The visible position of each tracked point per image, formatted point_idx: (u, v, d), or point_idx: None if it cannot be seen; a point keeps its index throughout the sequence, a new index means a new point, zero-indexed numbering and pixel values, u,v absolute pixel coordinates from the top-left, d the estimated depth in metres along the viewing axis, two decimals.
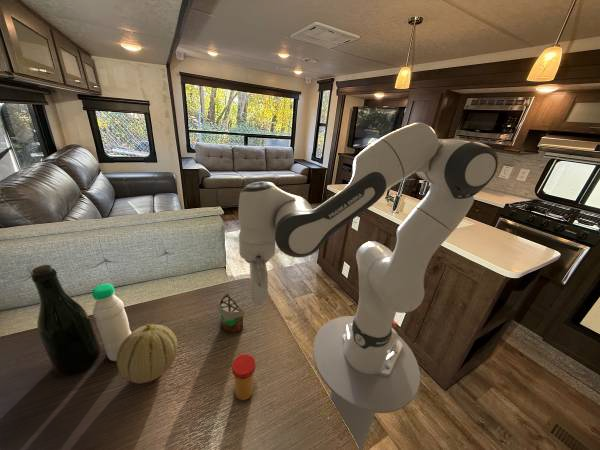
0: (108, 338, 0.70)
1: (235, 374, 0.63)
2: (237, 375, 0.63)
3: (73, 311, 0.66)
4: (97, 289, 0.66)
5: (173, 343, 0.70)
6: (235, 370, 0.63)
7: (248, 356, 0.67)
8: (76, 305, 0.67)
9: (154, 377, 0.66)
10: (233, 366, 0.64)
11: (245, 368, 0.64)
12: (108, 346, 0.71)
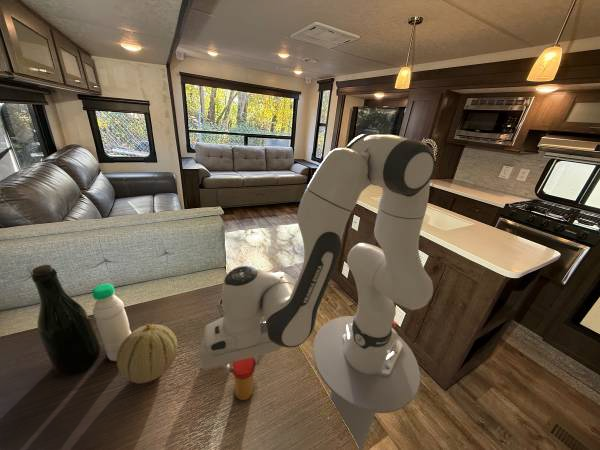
0: (108, 338, 0.70)
1: (235, 374, 0.63)
2: (237, 375, 0.63)
3: (73, 311, 0.66)
4: (97, 289, 0.66)
5: (173, 343, 0.70)
6: (235, 370, 0.63)
7: None
8: (76, 305, 0.67)
9: (154, 377, 0.66)
10: (233, 366, 0.64)
11: (245, 368, 0.64)
12: (108, 346, 0.71)
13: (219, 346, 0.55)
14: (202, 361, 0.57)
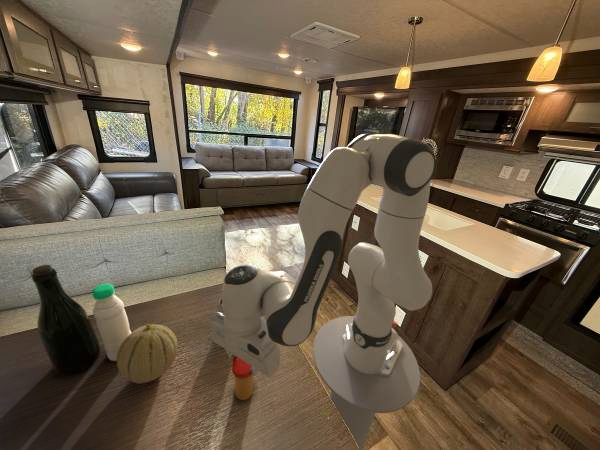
0: (108, 338, 0.70)
1: None
2: None
3: (73, 311, 0.66)
4: (97, 289, 0.66)
5: (173, 343, 0.70)
6: None
7: (234, 365, 0.64)
8: (76, 305, 0.67)
9: (154, 377, 0.66)
10: None
11: None
12: (108, 346, 0.71)
13: None
14: None
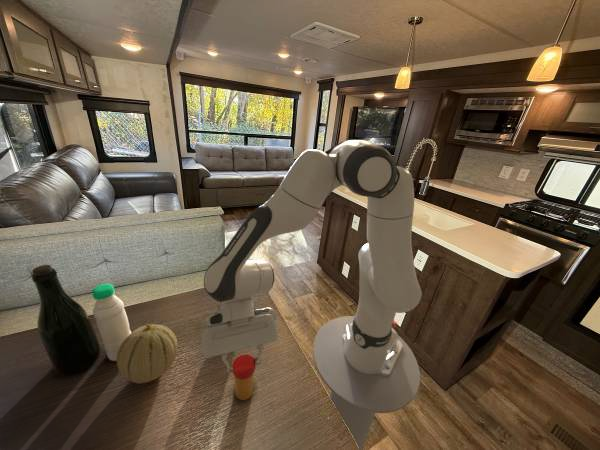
0: (108, 338, 0.70)
1: (255, 365, 0.66)
2: None
3: (73, 311, 0.66)
4: (97, 289, 0.66)
5: (173, 343, 0.70)
6: (253, 365, 0.65)
7: (234, 366, 0.64)
8: (76, 305, 0.67)
9: (154, 377, 0.66)
10: (251, 369, 0.64)
11: (247, 359, 0.66)
12: (108, 346, 0.71)
13: (217, 320, 0.64)
14: (202, 343, 0.62)
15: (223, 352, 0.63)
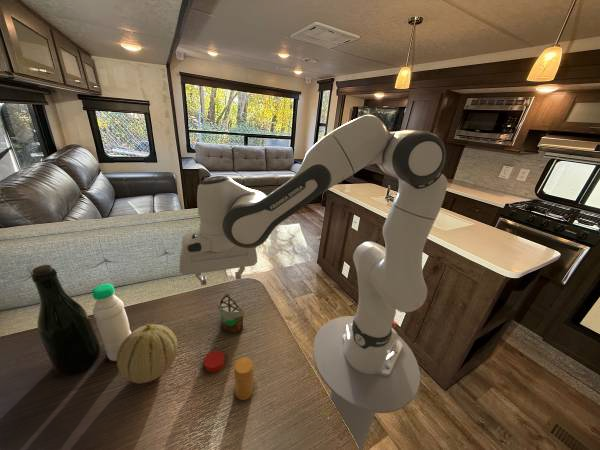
0: (108, 338, 0.70)
1: (224, 360, 0.76)
2: (224, 358, 0.77)
3: (73, 311, 0.66)
4: (97, 289, 0.66)
5: (173, 343, 0.70)
6: (222, 359, 0.75)
7: (206, 360, 0.75)
8: (76, 305, 0.67)
9: (154, 377, 0.66)
10: (220, 363, 0.74)
11: (217, 355, 0.77)
12: (108, 346, 0.71)
13: (195, 248, 0.60)
14: (180, 264, 0.62)
15: (201, 272, 0.65)
